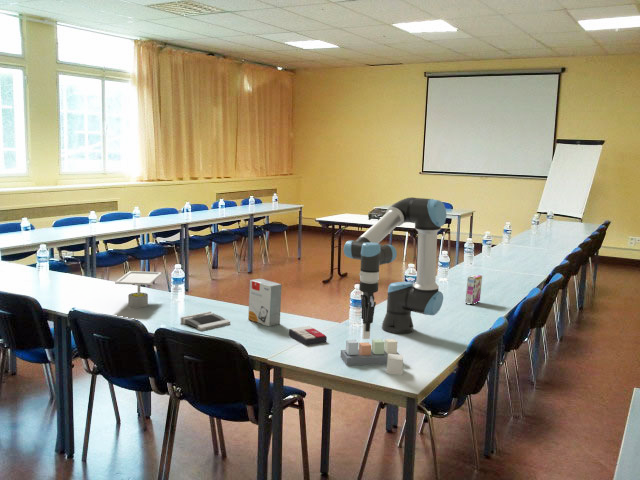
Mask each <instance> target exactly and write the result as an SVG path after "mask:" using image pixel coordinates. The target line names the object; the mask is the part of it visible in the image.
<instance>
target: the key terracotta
mask: <svg viewBox="0 0 640 480" xmlns="http://www.w3.org/2000/svg"><path fill="white" fill-rule="evenodd" d="M371 349H372V344H371V343H370V342H358V350H359V354H360V355H371Z"/></svg>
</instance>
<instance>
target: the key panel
mask: <svg viewBox="0 0 640 480" xmlns="http://www.w3.org/2000/svg"><path fill="white" fill-rule="evenodd" d="M397 354H398V355H401V354H400V353H399V351H397ZM340 358H341V360H342V361H343V363H344V364H345V365H346V366H368V365H369V366H370V365H372V366H375V365H377V366H378V365H387V359H388V354H387V353H386V352H385V351H384V354H374V353H373V352H372V348H371V355H360V354H359V349H358V355H348V354H347V353H346V349H340Z"/></svg>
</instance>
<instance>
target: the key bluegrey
mask: <svg viewBox="0 0 640 480" xmlns="http://www.w3.org/2000/svg"><path fill="white" fill-rule="evenodd" d="M345 350H346V353H347V354H348V355H358V350H359V341H358V340H356V339H346V340H345Z"/></svg>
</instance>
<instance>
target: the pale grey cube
mask: <svg viewBox="0 0 640 480" xmlns="http://www.w3.org/2000/svg"><path fill="white" fill-rule="evenodd" d="M403 368H404V354H400V355H398V354H388V359H387V364H386V374H390V375H401V376H402V375H403V371H404V370H403Z"/></svg>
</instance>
